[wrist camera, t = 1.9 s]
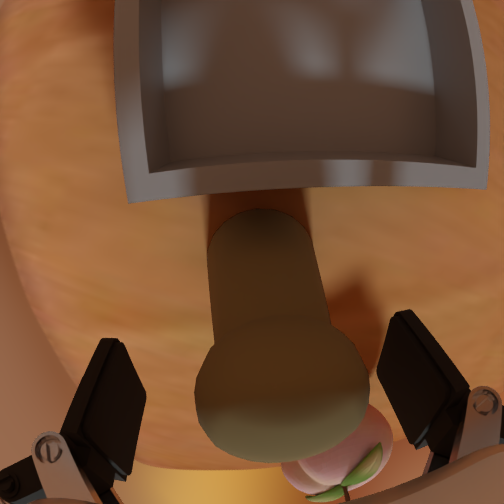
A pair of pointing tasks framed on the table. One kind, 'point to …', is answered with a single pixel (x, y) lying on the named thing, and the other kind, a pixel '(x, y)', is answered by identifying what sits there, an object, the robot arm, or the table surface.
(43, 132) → the table surface
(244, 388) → the cork
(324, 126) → the box
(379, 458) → the decorative fruit
